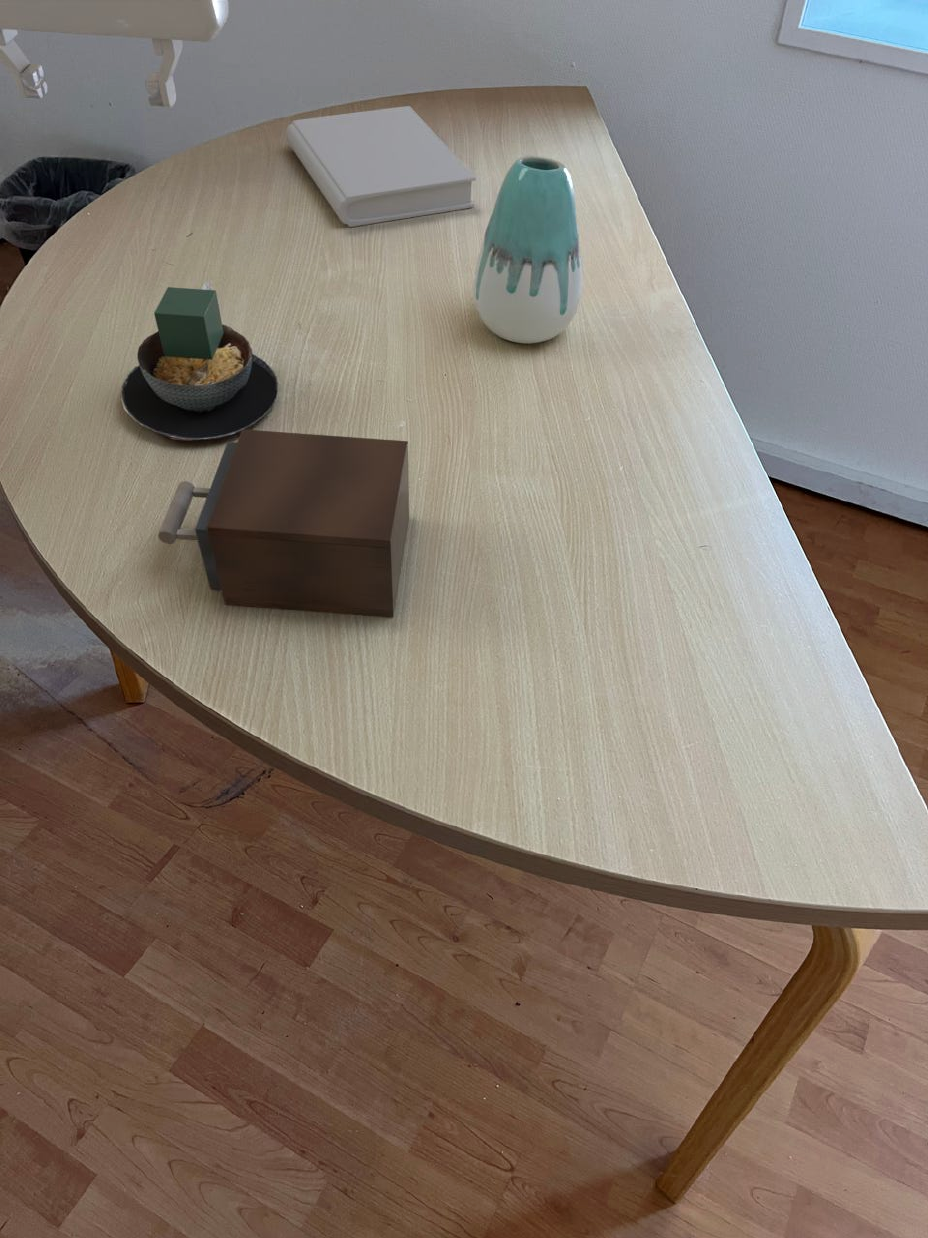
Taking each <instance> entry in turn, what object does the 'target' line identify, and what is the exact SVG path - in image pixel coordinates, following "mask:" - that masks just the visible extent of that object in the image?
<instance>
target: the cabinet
mask: <svg viewBox="0 0 928 1238" xmlns="http://www.w3.org/2000/svg"><path fill="white" fill-rule="evenodd" d="M236 442H237V445H236V448H235V451H234V453H233V456H232V459H231V462H230V464H229V467H228V470H227V472H226V475H225V478H224V481H223V483H222V486H221V489H220V492H219V494H218V497H217V500H216V503H215V505H214V508H213V511H212V514H211V516H210V519H209V522H208V525H207V531H208V536H209V540H210V544H211V548H212V552H213V556H214V561H215V565H216V569H217V573H218V577H219V581H220V585H221V589H222V591H221V594H222V597H223V601H224V604H225V605H227V606H240V607H241V606H242V607H253V608H266V609H267V608H268V609H280V610H281V609H282V610H293V611H306V612H318V613H330V614H331V613H334V614H345V615H359V616H373V617H388V618H394V615H395V610H396V604H397V597H398V592H399V591H398V590H399V584H400V578H401V572H402V565H403V559H404V555H405V554H404V553H405V546H406V541H407V535H408V527H409V521H410V490H409V489H410V486H409V485H410V484H409V483H410V482H409V441H407V440H395V439H381V438H367V437H353V436H341V435H328V434H327V435H326V434H325V435H324V434H314V433H298V432H286V431H272V430H271V431H270V430H258V429H247V430H245V429H242V431H241V432H240V433H239V437H238V440H237V441H236Z"/></svg>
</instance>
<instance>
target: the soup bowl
mask: <svg viewBox="0 0 928 1238" xmlns="http://www.w3.org/2000/svg"><path fill="white" fill-rule="evenodd" d="M200 289H202V290H212V285H211V284H210V281H208V282H205V283H203V284H202V286H201V288H200ZM222 327H223V332H224V333H223V336H222V338H221V340H220V343H219V345H218V347H217V350H216V352H215V354H214V357H213V359H212V360H209V359H194V358H180V357H166V356H164V352H163V348H162V344H161V340H160V335H159V331H158V330H157V331H156V332H154V333H153V334H150V335H149V336H146V338H145V339H144V340H143V341H142V343H141V344H140V345H139V346H138V349H137V356H136V357H137V362H138V365H136V366H134V368H132V369H131V371H129V372H128V374H127V375H126V376H127V377H126V378H125V379H124V381H123V383H122V385H121V389H120V401H121V405H122V408H123V411H124V412H125V413H126V414H128V415H129V416H130V417H131V418H132V419H133V420H134V421H135V422H136V423H138V424H140V426H142V427H144V428H147V429H149V430H151V431H152V432H155V433H157V434H159V435H161V436H163V437H166V438H168V439H170V440H178V441H203V440H204V441H205V440H206V441H212V440H219V439H224V438H227V437H231V436H234V435H237V434H241V431H242V429H245V430H250V429H251V427H253V426H254V425H255V424H256V423H257V422H258V421H259V420H261V419H262V418H263V417H264V416H265V415H267V414H268V412H269V411H270V410H271V408H272V406H273V404H274V403H275V400H276V399H277V397H278V396H277V395H278V391H279V389H278V387H279V386H278V378H277V375H276V373H275V371H274V370H273V369H272V368H271V366H270V365H269V364H268V363H267V362H266V361H264V359H262V358H260V357H259V356H257V355H256V354H254V353H253V348H252V347H251V344H250V342H249V341H248V340H247V338H246V337H245V336H244V335H242V334H241V333H239V332H238V331H236V330H235V329H233V328H232V327H230V326H228V325H226V324H222Z"/></svg>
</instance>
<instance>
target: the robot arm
mask: <svg viewBox="0 0 928 1238" xmlns="http://www.w3.org/2000/svg"><path fill="white" fill-rule="evenodd" d="M229 9H230V8H229V0H0V62H1V63H2V64H3V66H4V67H5V68H6V69H7V70H8V71H9V73H12V78H13V80H14V83H15V86H16V88H17V89H16V90H17V94H18V95H19V97H20V98H22V99H23V98H24V99H43V98H44V97H45V96H46V95H47V94H48V90H49V87H48V82H47V80H46V79H45V78H44V77H45V72H44V68H43V65H42V64H37V63H36V64H35V63H31V62H30V60H29V59H28V58H27V56H26V55H25V54H24V52H23V51H22V49H21V48H20V47H19V46H18V44H17V43H16V41H15V40H14V39H15V38H16V37H17V36H18V34H19V33H18V31H26V32H27V31H28V32H41V33H55V34H56V33H57V34H74V35H87V36H89V35H90V36H106V37H120V38H121V37H124V38H137V39H138V38H139V39H151V43H152V46H153V52H154V54H155V55H156V56H160V57H161V56H163V58H162V61H161V63H160V67H159V71H151V73H149V76H148V77H146V79H145V80H144V84H145V88H146V93H148V102H149V105H150V106H151V107H160V108H161V107H162V108H173V106H174V105H175V103H176V102H177V92H176V87H175V86H176V85H175V81H174V77H173V76H174V73H175V70H176V67H177V65H178V62H179V59H180V56H181V53H182V50H183V48H184V43H183V41H184V42H185V41H186V42H200V43H209V42H212V41H213V40H214V39H215V38H216V37H217V36H218V34H219V33H220V32H221V31H222V29H223V28H224V26H225V24H226V22H227V21H228V18H229V12H230V10H229Z"/></svg>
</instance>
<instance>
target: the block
mask: <svg viewBox="0 0 928 1238" xmlns="http://www.w3.org/2000/svg"><path fill="white" fill-rule="evenodd" d="M217 294H218V293H217V290H215V289H214V290H213V289H211V290H202V289H201V288H187V287H171V286H168V287H167V288H166V290H165V292H164V293H163V295H162V298H161V299H160V301H159V303H158V304H157V306H156V309H155V310H154V313H153V314H154V319H155V322H156V327H157V331H159V335H160V340H161V344H162V348H163V352H164V356H166V357H180V358H194V359H209V360H212V359H213V357H214V354H215V352H216V350H217V347H218V345H219V343H220V340H221V338H222V336H223V333H224V332H223V327H222V325H223V322H222V317H221V311H220V306H219V300H218V295H217Z"/></svg>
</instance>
